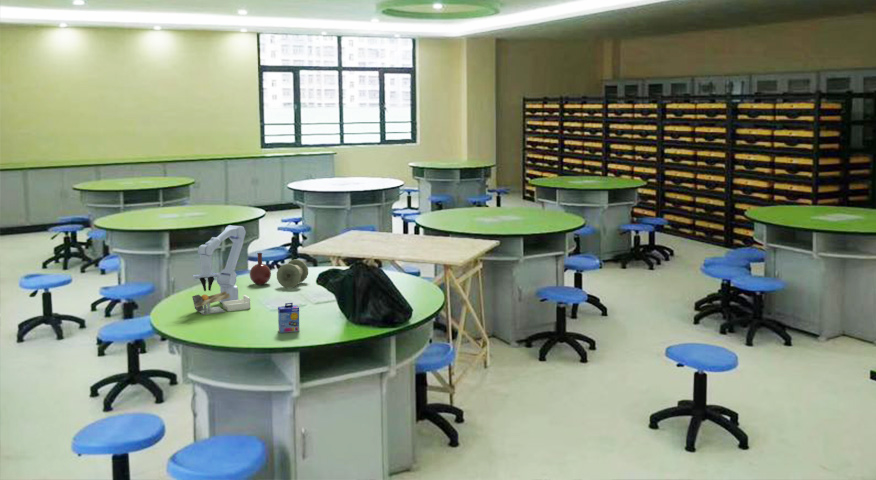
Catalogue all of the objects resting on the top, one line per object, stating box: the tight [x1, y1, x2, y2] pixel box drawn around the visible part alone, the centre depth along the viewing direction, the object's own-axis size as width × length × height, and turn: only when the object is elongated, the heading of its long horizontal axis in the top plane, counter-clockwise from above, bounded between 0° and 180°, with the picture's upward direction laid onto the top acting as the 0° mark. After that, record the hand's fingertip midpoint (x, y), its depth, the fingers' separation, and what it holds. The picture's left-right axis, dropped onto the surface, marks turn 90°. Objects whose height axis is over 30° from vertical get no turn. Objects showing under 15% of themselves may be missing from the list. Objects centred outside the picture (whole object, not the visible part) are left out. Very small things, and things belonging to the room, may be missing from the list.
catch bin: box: [222, 294, 251, 312], centre depth 417 cm, size 12×10×6 cm
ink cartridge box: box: [277, 302, 300, 334], centre depth 371 cm, size 10×6×14 cm, turn 112°
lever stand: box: [198, 303, 226, 316], centre depth 410 cm, size 12×12×6 cm
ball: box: [200, 294, 209, 301], centre depth 408 cm, size 4×4×4 cm
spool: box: [276, 259, 309, 289], centre depth 476 cm, size 16×15×15 cm
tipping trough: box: [191, 291, 230, 313], centre depth 412 cm, size 18×12×7 cm, turn 120°
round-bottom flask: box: [249, 252, 272, 286], centre depth 478 cm, size 13×13×20 cm
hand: (207, 290), depth 418 cm, fingers closed
